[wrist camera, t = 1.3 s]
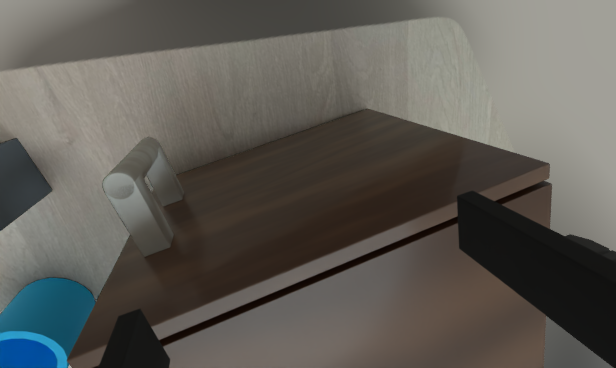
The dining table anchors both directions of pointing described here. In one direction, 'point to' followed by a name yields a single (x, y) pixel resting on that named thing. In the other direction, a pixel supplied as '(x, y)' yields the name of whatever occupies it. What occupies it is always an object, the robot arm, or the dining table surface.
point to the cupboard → (383, 312)
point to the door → (280, 215)
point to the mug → (43, 324)
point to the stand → (18, 182)
